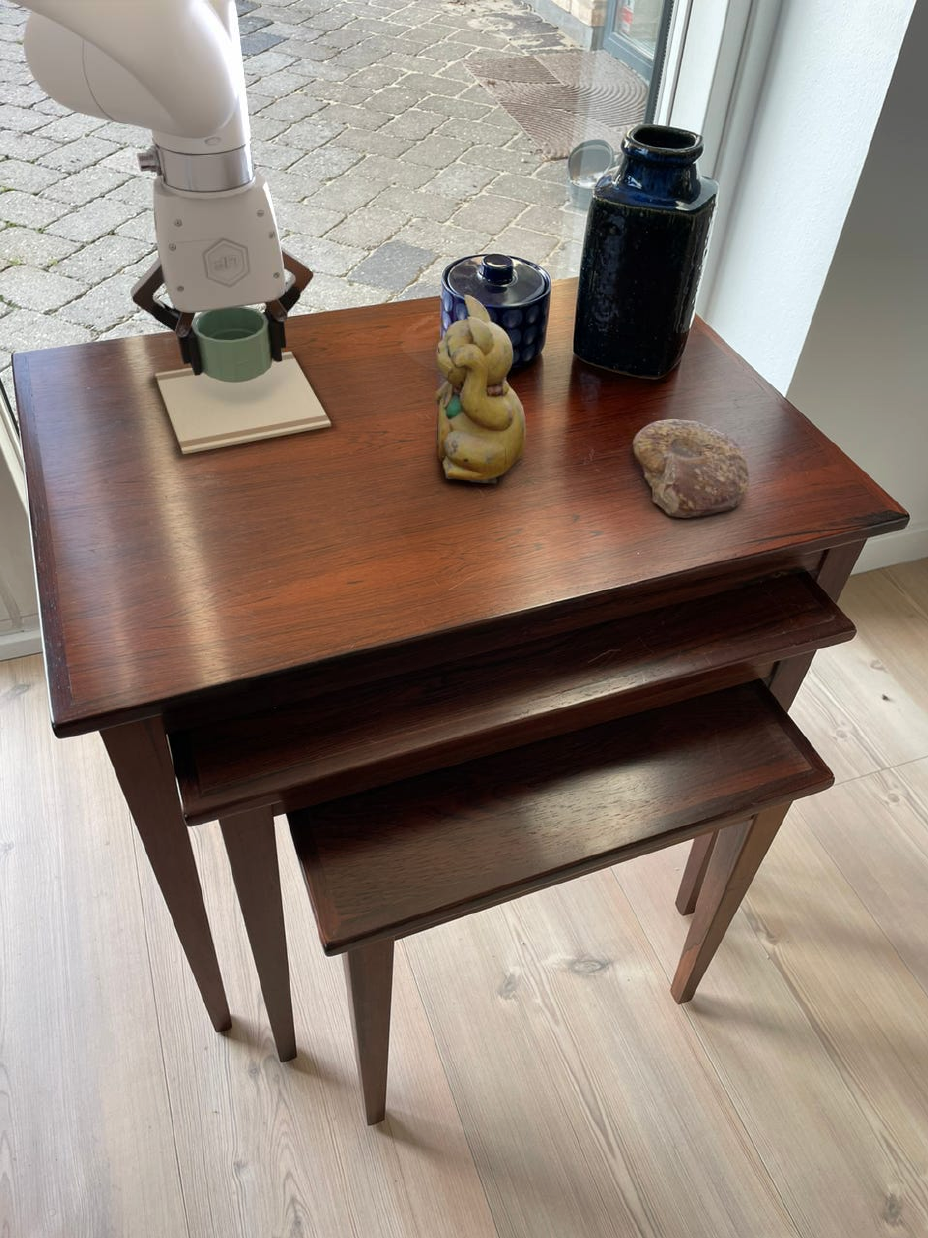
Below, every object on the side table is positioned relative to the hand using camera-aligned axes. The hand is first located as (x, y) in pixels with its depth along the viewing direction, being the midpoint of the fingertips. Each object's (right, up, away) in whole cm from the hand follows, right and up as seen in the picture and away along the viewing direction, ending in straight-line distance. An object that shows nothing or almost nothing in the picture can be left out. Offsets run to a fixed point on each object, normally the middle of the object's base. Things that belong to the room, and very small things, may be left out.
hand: (235, 360), depth 85 cm
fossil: (+42, -12, -2) cm, 44 cm away
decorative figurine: (+23, -10, -2) cm, 25 cm away
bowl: (0, -1, 0) cm, 1 cm away
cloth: (0, -3, +3) cm, 4 cm away
